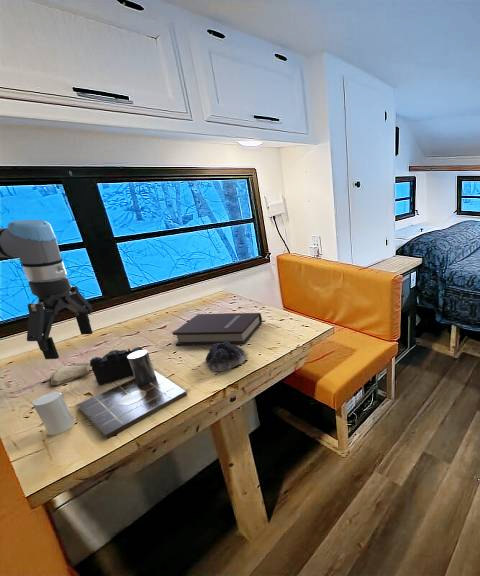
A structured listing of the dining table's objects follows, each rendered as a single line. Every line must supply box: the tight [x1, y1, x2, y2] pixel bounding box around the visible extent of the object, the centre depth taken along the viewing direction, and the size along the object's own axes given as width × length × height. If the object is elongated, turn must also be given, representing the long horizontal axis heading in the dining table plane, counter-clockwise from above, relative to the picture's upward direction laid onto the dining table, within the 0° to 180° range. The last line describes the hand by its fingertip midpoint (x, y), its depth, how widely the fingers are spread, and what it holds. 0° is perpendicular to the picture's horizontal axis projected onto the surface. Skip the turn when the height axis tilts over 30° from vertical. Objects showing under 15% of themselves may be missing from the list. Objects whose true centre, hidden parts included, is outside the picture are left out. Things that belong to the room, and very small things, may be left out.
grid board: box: [76, 369, 188, 440], centre depth 92 cm, size 22×20×2 cm
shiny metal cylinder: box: [127, 349, 156, 385], centre depth 98 cm, size 5×5×10 cm
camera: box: [89, 346, 144, 386], centre depth 105 cm, size 14×11×10 cm
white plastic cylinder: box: [32, 391, 76, 436], centre depth 82 cm, size 5×5×10 cm
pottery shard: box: [50, 362, 91, 386], centre depth 106 cm, size 11×4×10 cm
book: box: [172, 312, 263, 347], centre depth 132 cm, size 28×20×6 cm
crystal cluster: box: [205, 341, 246, 372], centre depth 110 cm, size 13×14×10 cm
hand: (70, 345), depth 91 cm, fingers open, 13 cm apart
